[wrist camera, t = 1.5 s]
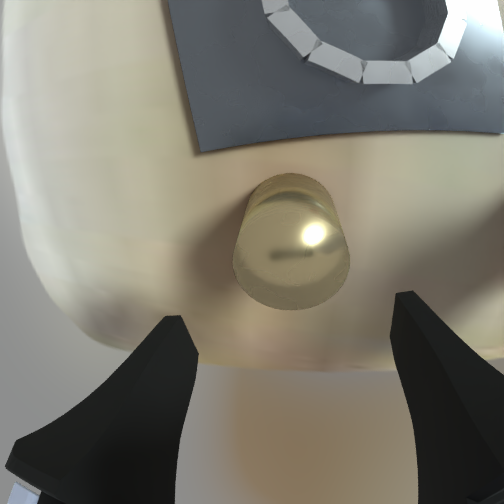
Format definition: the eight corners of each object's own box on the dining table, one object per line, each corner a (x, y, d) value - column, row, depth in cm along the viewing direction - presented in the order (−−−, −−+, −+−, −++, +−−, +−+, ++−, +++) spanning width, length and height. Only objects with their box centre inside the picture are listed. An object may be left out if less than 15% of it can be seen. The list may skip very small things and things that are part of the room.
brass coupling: (331, 168, 15) (348, 206, 11) (337, 249, 18) (349, 304, 14) (238, 179, 16) (220, 220, 12) (254, 257, 19) (244, 313, 15)
